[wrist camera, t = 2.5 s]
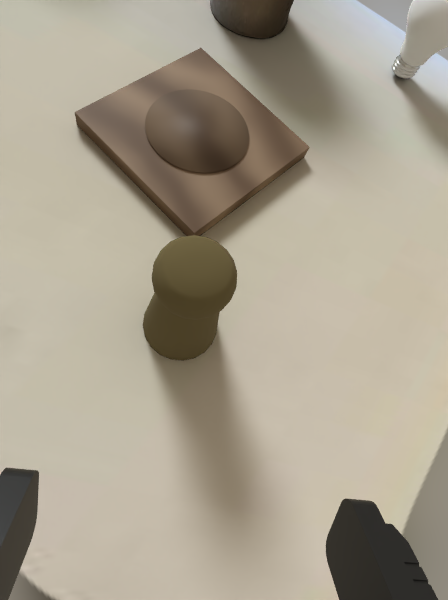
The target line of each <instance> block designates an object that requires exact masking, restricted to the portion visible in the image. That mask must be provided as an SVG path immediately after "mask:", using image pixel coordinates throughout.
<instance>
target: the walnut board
mask: <svg viewBox="0 0 448 600" xmlns="http://www.w3.org/2000/svg"><path fill="white" fill-rule="evenodd" d="M75 116H76V122H77V125H78V126H79V127H80V128H81V129H82V130H83V131H84V132H85V133H86V134H87V135H88V136H89V137H90V138H91V139H92V140H93V141H94V142H95V143H96V144H97V145H98V146H99V147H100V149H101V150H102V151H103V152H104V153H105V154H106V155H107V156H108V157H109V158H110V159H111V160H112V161H113V162H114V163H115V164H116V165H117V166H118V167H119V168H120V169H121V170H122V171H123V172H124V173H125V174H126V175H127V176H128V177H129V178H130V179H131V180H132V181H133V182H134V183H135V184H136V185H137V186H138V187H139V188H140V189H141V190H142V191H143V192H144V193H145V194H146V195H147V196H148V197H149V198H150V199H151V200H152V201H153V202H154V203H155V204H156V205H157V206H158V207H159V208H160V209H161V210H162V211H163V212H164V213H165V214H166V215H167V216H168V217H169V218H170V219H171V220H172V221H173V223H174V224H175V225H176V226H177V227H178V228H179V229H180V230H181V231H182V232H183V233H184V234H185V235H186V236H192V235H196V236H200V235H202V234H203V233H204V232H206V231H207V230H208V229H210V228H211V227H212V226H214V225H215V224H216V223H218V222H219V221H220V220H222V219H223V218H224V217H225V216H227V215H228V214H229V213H231V212H232V211H233V210H235V209H236V208H237V207H239V206H240V205H241V204H243V203H244V202H245V201H247V200H248V199H249V198H251V197H252V196H253V195H255V194H256V193H257V192H259V191H260V190H261V189H263V188H264V187H265V186H267V185H268V184H269V183H271V182H272V181H273V180H275V179H276V178H277V177H279V176H280V175H281V174H282V173H284V172H285V171H286V170H288V169H289V168H290V167H292V166H293V165H294V164H296V163H297V162H298V161H300V160H301V159H302V158H304V156H305V155H306V153H307V151H308V149H309V146H308V145H307V144H306V143H305V142H303V141H302V140H301V139H300V138H299V137H298V136H297V135H296V134H295V133H294V132H293V131H291V130H290V129H289V128H288V127H287V126H286V125H285V124H284V123H283V122H282V121H280V120H279V119H278V118H277V117H276V116H275V115H274V114H273V113H272V112H271V111H270V110H268V109H267V108H266V107H265V106H264V105H263V104H262V103H261V102H260V101H259V100H258V99H256V98H255V97H254V96H253V95H252V94H251V93H250V92H249V91H248V90H247V89H245V88H244V87H243V86H242V85H241V84H240V83H239V82H238V81H237V80H236V79H235V78H233V77H232V76H231V75H230V74H229V73H228V72H227V71H226V70H225V69H224V68H223V67H221V66H220V65H219V64H218V63H217V62H216V61H215V60H214V59H213V58H212V57H210V56H209V55H208V54H207V53H206V52H205V51H204V50H203V49H202V48H200V49H198V50H196V51H194V52H192V53H190V54H188V55H186V56H184V57H182V58H180V59H178V60H176V61H174V62H172V63H170V64H168V65H166V66H164V67H162V68H160V69H159V70H157V71H155V72H153V73H151V74H149V75H147V76H145V77H143V78H141V79H139V80H137V81H135V82H133V83H131V84H129V85H127V86H125V87H123V88H121V89H119V90H117V91H115V92H113V93H112V94H110V95H108V96H106V97H104V98H102V99H100V100H98V101H96V102H94V103H92V104H90V105H88V106H86V107H84V108H82V109H80V110H78V111H76V112H75Z"/></svg>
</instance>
